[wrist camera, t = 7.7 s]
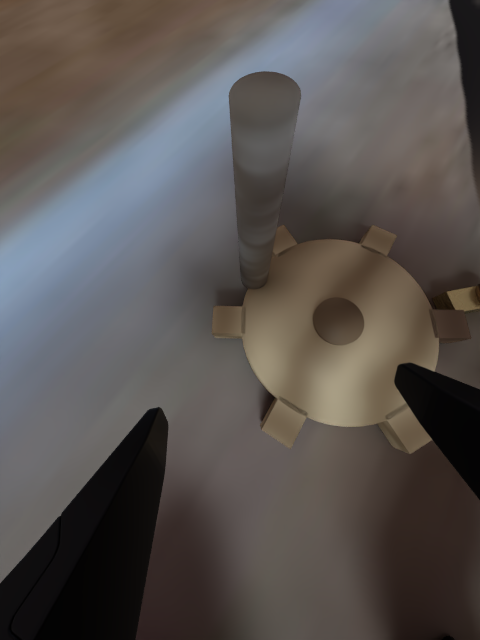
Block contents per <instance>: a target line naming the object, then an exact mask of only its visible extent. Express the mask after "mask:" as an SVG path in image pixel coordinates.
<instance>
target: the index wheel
mask: <svg viewBox="0 0 480 640" xmlns="http://www.w3.org/2000/svg"><path fill="white" fill-rule="evenodd" d="M300 100H301V91H300V88H299V86H298V85H297V83H296V82H295V81H294V80H292V79H291V78H290V77H288V76H286V75H283V74H280V73H276V72H256V73H252V74H249V75H246V76H244V77H242V78H240V79H239V80H238V81H237V82H235V83H234V85H233V86H232V88H231V89H230V92H229V106H230V121H231V137H232V152H233V167H234V182H235V198H236V213H237V228H238V243H239V259H240V274H241V281H242V283H243V285H244V286H246V287H247V288H248V290H247V292H246V295H245V298H244V302H243V306H214V307H213V322H212V334H213V335H214V337H215V338H242V340H243V346H244V350H245V353H246V356H247V359H248V362H249V364H250V366H251V368H252V370H253V372H254V373H255V375H256V376H257V378H258V380H259V381H260V382H261V383H262V385H263V386H264V387H265V388H266V390H267V391H268V392H269V393H270V394H272V395H273V396H274V397H275V399H274V400H273V402H272V404H271V406H270V408H269V410H268V411H267V413H266V415H265V417H264V419H263V421H262V423H261V424H260V426H261V430H263V431H264V432H266V433H267V434H269V435H270V436H272V437H273V438H275V439H276V440H278V441H279V442H281V443H282V444H284V445H285V446H286V447H288V448H289V449H291V447H292V445H293V443H294V441H295V439H296V437H297V435H298V433H299V431H300V429H301V427H302V425H303V423H304V421H305V419H306V417H307V418H310V419H312V420H315V421H318V422H321V423H325V424H329V425H334V426H343V427H361V426H367V425H373V424H378V426H379V427H380V429H381V430H382V432H383V433H384V435H385V436H386V438H387V439H388V441H389V442H390V444H391V445H392V447H394V448H396V449H399V450H401V451H404V452H406V453H408V454H411V453H413V452H414V451H416V450H417V449H419V448H421V447H422V446H424V445H425V444H427V443H428V442H430V441H431V440H432V439H431V437H430V436H429V435H428V434H427V432H426V431H425V430H424V428H423V427H422V426H421V424H420V423H419V421H418V420H417V419H416V417H415V416H414V414H413V412H412V411H411V409H410V408H409V406H408V405H407V403H406V402H405V400H404V399H403V397H402V396H401V394H400V392H399V391H398V389H397V388H396V386H395V384H394V378H395V374H396V370H397V366H398V365H399V364H402V363H408V362H411V363H414V364H417V365H419V366H422V367H424V368H427V369H429V370H432V371H435V368H436V364H437V360H438V353H439V343H452V342H457V341H462V340H467V339H471V336H470V332H469V328H468V324H467V321H466V317H465V313H464V310H434V309H432V307H431V305H430V303H429V301H428V299H427V297H426V295H425V294H424V292H423V290H422V289H421V287H420V286H419V285H418V283H417V282H416V281H415V280H414V278H413V277H412V276H411V275H410V274H409V273H408V272H407V271H406V270H405V269H404V268H402V267H401V266H400V265H399V264H398V263H397V262H395V261H394V260H392V259H391V258H389V257H388V256H387V255H388V253H389V251H390V249H391V247H392V245H393V243H394V241H395V239H396V237H397V235H395V234H392V233H390V232H388V231H386V230H383V229H381V228H379V227H377V226H374V225H372V226H371V227H370V228H369V230H368V231H367V232H366V234H365V235H364V236H363V237H362V239H361V241H360V243H355V242H351V241H345V240H337V239H320V240H313V241H307V242H303V243H300V244H297V242H296V241H295V239H294V238H293V237H292V235H291V234H290V233H289V231H288V230H287V228H286V227H285V226H284V225H282V226H280V227H278V228H277V225H278V219H279V214H280V208H281V203H282V197H283V192H284V187H285V181H286V176H287V170H288V165H289V159H290V154H291V148H292V143H293V138H294V132H295V127H296V121H297V116H298V110H299V105H300Z"/></svg>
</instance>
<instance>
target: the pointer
mask: <svg viewBox="0 0 480 640" xmlns="http://www.w3.org/2000/svg"><path fill="white" fill-rule="evenodd" d="M432 299H433V302H434V304H435V306H436V308H437V310H464V313H465V314H466V313H472V312H477V311H480V284H479V285H478V286H474V287H469V288H463V289H458V290H453V291H447V292H445V293H443V294H440V295H438V296H436V297H434V298H432Z"/></svg>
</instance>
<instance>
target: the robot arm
mask: <svg viewBox="0 0 480 640" xmlns="http://www.w3.org/2000/svg"><path fill="white" fill-rule="evenodd" d="M394 384H395V386H396V388H397V389H398V391H399V392H400V394H401V396H402V397H403V399H404V400H405V402H406V403H407V405H408V406H409V408H410V409H411V411H412V412H413V414H414V416H415V417H416V419H417V420H418V421H419V423H420V424H421V426H422V427H423V428H424V430H425V431H426V432H427V434H428V435H429V436H430V437H431V439H432V440H433V441H434V442H435V444H436V445H437V446H438V448H439V449H440V450H441V451H442V453H443V454H444V455H445V456H446V458H447V459H448V460H449V462H450V463H451V464H452V465H453V467H454V468H455V469H456V470H457V472H458V473H459V474H460V476H461V477H462V478H463V479H464V481H465V482H466V483H467V484H468V486H469V487H470V488H471V490H472V491H473V492H474V493H475V495H476V496H477V497H478V498H479V500H480V389H477V388H475V387H472V386H470V385H467V384H465V383H462V382H460V381H457V380H455V379H452V378H449V377H447V376H444V375H442V374H439V373H437V372H434V371H432V370H429V369H427V368H424V367H422V366H419V365H417V364H414V363H411V362H408V363H402V364H399V365H398V366H397V370H396V374H395V378H394ZM167 439H168V421H167V419H166V417H165V415H164V412H163V410H162V409H161V408H160V407H158V408H152V409H149V410H148V411H147V412H146V413H145V414H144V416H143V417H142V418H141V419H140V420H139V422H138V423H137V424H136V425H135V426H134V428H133V429H132V430H131V431H130V432H129V434H128V435H127V436H126V437H125V438H124V439H123V441H122V442H121V443H120V444H119V445H118V447H117V448H116V449H115V450H114V451H113V453H112V454H111V455H110V456H109V457H108V459H107V460H106V461H105V462H104V463H103V464H102V466H101V467H100V468H99V469H98V470H97V472H96V473H95V474H94V475H93V476H92V478H91V479H90V480H89V481H88V482H87V484H86V485H85V486H84V487H83V488H82V490H81V491H80V492H79V493H78V494H77V495H76V497H75V498H74V499H73V500H72V501H71V503H70V504H69V505H68V506H67V507H66V509H65V510H64V511H63V512H62V514H61V516H59V517H58V518H57V519H56V520H55V522H54V523H53V524H52V525H51V526H50V527H49V529H48V530H47V531H46V532H45V533H44V535H43V536H42V537H41V538H40V539H39V540H38V542H37V543H36V544H35V545H34V546H33V547H32V548H31V550H30V551H29V552H28V553H27V554H26V555H25V557H24V558H23V559H22V560H21V561H20V562H19V563H18V564H17V565H16V567H15V568H14V569H13V570H12V571H11V572H10V573H9V574H8V575H7V576H6V578H5V579H4V580H3V581H2V582H1V583H0V640H135V638H136V632H137V627H138V621H139V616H140V610H141V604H142V599H143V593H144V587H145V582H146V576H147V570H148V565H149V559H150V554H151V548H152V542H153V537H154V531H155V525H156V520H157V514H158V508H159V503H160V497H161V492H162V486H163V480H164V474H165V465H166V452H167ZM442 640H455V639H454V638H453V637H450V636H446V637H444V638H443V639H442Z"/></svg>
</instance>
